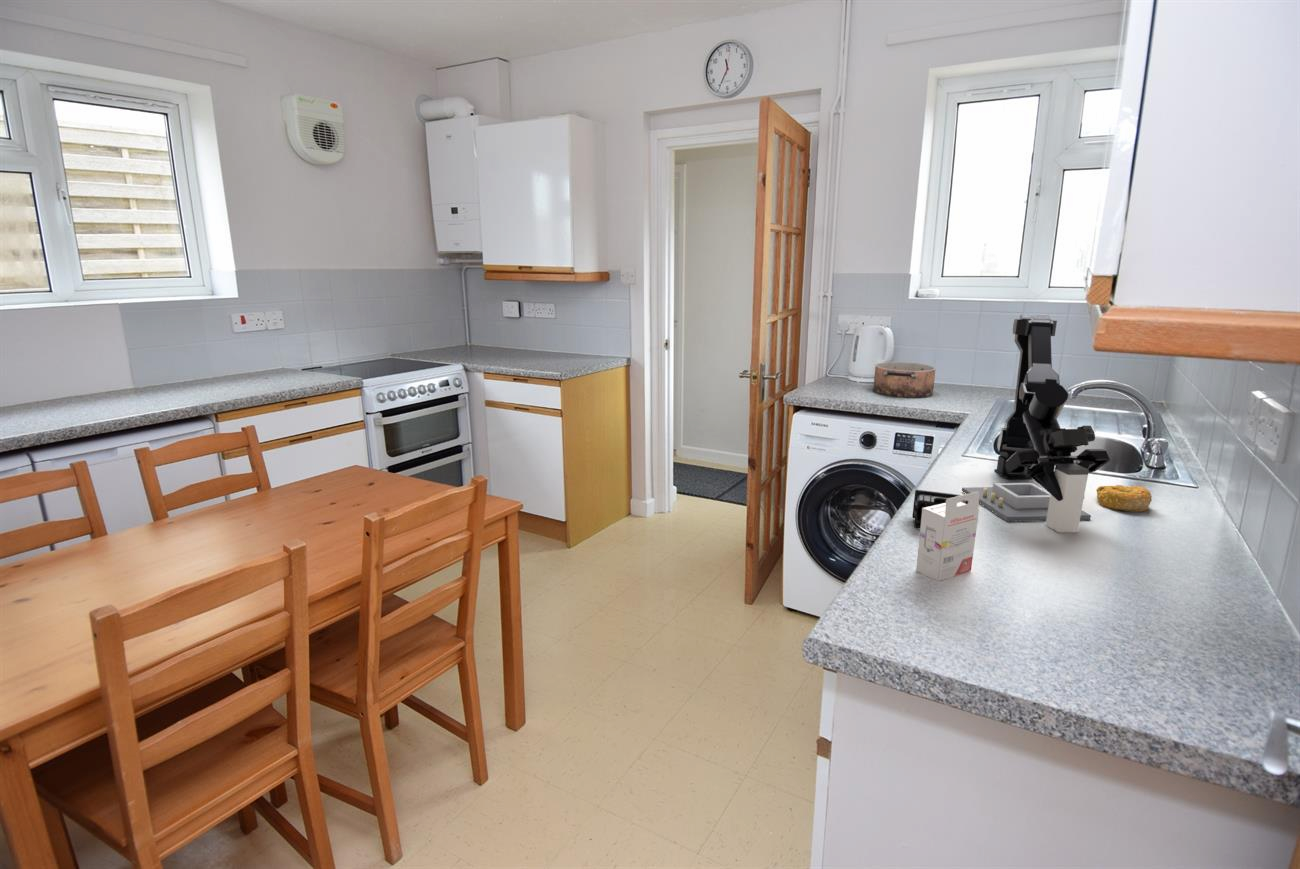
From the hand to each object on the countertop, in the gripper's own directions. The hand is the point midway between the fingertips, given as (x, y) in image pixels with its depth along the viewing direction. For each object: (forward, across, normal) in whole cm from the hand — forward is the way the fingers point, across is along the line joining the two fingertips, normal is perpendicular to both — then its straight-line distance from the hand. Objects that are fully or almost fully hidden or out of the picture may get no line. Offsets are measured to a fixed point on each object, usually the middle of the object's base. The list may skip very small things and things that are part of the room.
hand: (1071, 499), depth 131 cm
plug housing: (+4, 0, +6) cm, 7 cm away
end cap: (+2, -24, +8) cm, 25 cm away
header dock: (-6, 0, +15) cm, 16 cm away
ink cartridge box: (+16, -33, -6) cm, 37 cm away
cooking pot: (-92, +27, +102) cm, 141 cm away
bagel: (-5, +22, +15) cm, 27 cm away
